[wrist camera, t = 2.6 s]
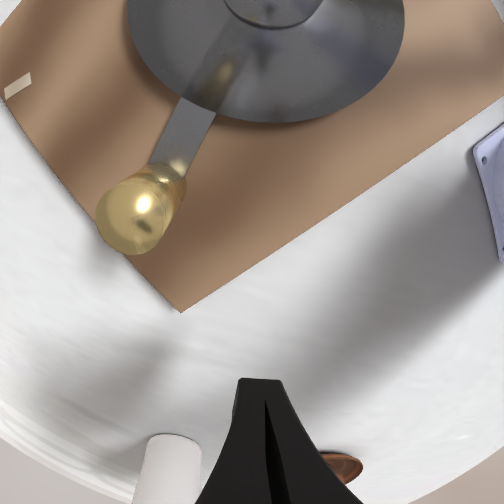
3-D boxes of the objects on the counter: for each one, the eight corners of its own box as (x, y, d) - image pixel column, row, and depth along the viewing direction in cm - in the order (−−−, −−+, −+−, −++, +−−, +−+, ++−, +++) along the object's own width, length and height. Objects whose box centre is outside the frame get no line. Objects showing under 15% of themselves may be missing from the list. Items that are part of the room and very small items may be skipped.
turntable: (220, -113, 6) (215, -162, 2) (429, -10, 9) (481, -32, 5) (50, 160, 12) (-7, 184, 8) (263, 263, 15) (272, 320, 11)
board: (515, 77, 12) (527, 78, 11) (183, 300, 18) (180, 313, 16) (334, -147, 4) (339, -156, 3) (-10, 58, 10) (-23, 58, 9)
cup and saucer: (327, 484, 32) (334, 521, 27) (242, 482, 30) (243, 524, 25) (379, 442, 27) (393, 487, 22) (280, 441, 25) (286, 496, 20)
